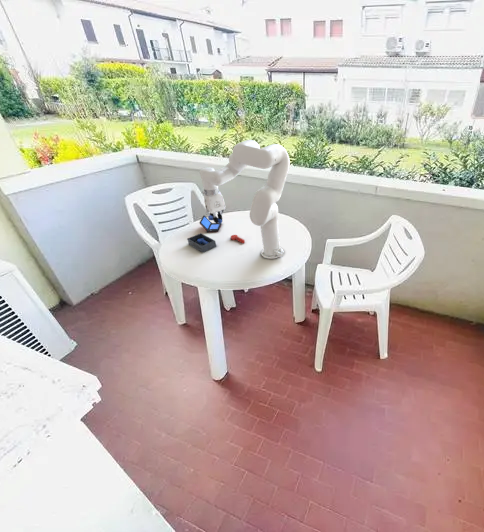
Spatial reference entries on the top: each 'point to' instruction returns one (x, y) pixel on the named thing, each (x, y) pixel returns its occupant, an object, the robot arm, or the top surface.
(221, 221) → the blue spoon
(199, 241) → the blue spoon
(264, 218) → the robot arm
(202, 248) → the bin
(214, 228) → the handheld console
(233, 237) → the red spoon
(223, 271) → the top surface
